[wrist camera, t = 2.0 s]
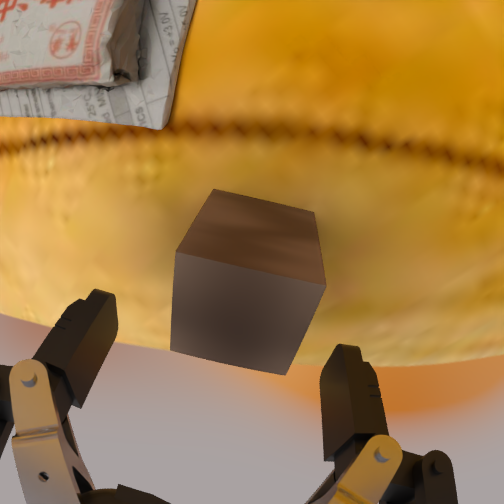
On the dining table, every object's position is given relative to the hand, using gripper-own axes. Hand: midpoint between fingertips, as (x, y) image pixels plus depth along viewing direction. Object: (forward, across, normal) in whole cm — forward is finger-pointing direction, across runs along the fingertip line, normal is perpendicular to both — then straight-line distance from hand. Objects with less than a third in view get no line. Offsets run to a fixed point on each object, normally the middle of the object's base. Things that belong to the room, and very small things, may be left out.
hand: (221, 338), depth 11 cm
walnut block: (+7, -1, 0) cm, 7 cm away
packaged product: (+8, +13, -10) cm, 18 cm away
